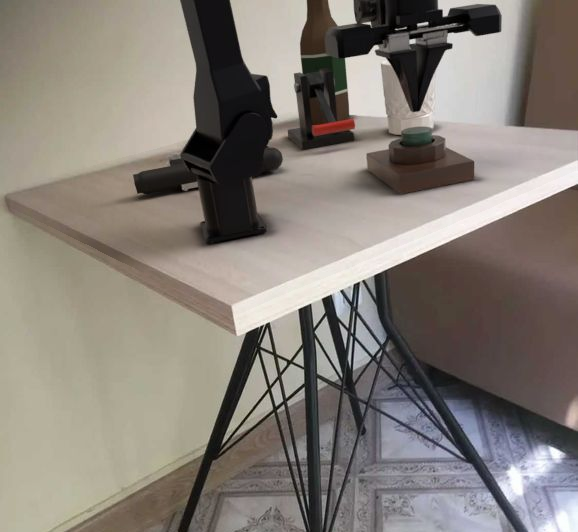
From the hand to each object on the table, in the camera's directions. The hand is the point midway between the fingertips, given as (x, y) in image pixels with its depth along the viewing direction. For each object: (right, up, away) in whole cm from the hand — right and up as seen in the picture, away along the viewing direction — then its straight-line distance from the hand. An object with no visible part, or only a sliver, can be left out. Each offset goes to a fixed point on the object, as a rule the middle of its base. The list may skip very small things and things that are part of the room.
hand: (415, 111), depth 81 cm
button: (+1, -3, +2) cm, 4 cm away
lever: (-10, +8, +22) cm, 25 cm away
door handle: (-26, -3, +17) cm, 31 cm away
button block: (+1, -6, +4) cm, 8 cm away
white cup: (+4, +5, +25) cm, 26 cm away
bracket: (-10, +5, +27) cm, 29 cm away
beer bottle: (-8, +12, +39) cm, 42 cm away
